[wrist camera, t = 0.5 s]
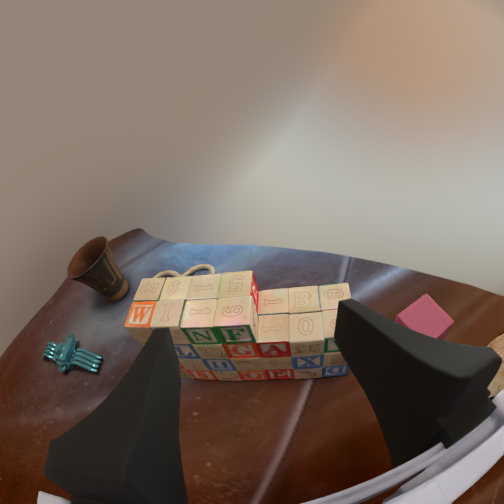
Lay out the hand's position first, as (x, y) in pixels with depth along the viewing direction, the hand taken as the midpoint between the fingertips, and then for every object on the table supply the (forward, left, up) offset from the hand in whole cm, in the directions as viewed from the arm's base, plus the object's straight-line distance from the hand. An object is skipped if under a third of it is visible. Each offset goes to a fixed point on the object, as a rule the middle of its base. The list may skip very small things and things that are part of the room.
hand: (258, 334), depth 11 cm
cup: (+32, +18, -21) cm, 42 cm away
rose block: (0, -16, -17) cm, 23 cm away
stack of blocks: (+10, -1, -21) cm, 23 cm away
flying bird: (+22, +27, -21) cm, 41 cm away
